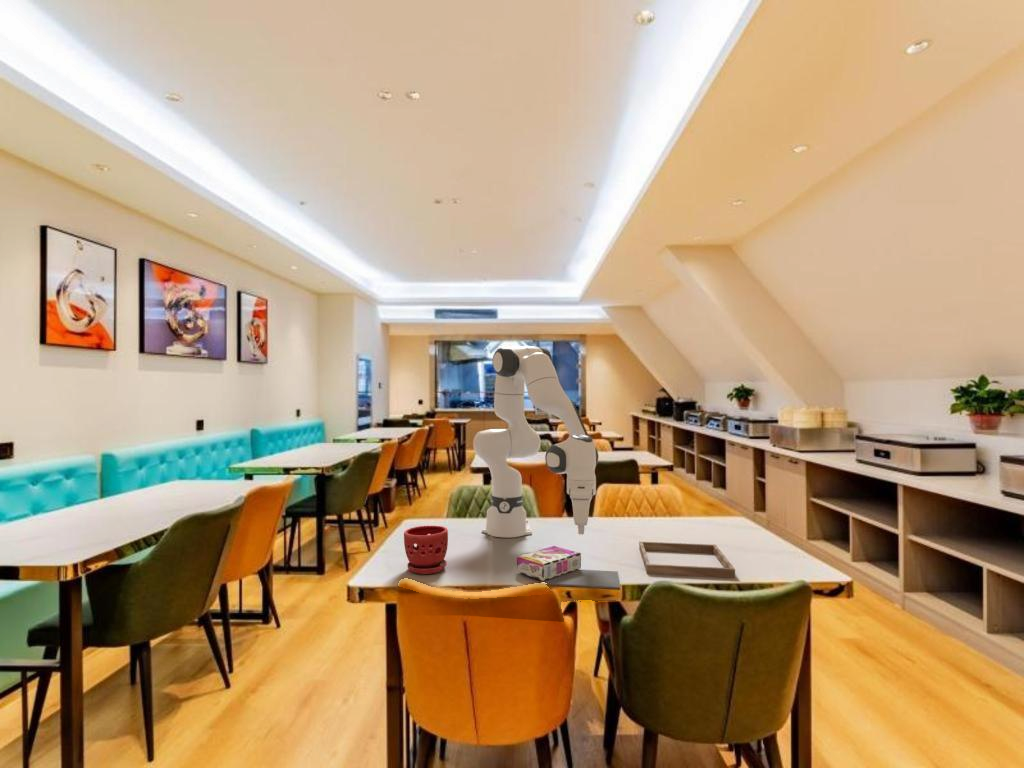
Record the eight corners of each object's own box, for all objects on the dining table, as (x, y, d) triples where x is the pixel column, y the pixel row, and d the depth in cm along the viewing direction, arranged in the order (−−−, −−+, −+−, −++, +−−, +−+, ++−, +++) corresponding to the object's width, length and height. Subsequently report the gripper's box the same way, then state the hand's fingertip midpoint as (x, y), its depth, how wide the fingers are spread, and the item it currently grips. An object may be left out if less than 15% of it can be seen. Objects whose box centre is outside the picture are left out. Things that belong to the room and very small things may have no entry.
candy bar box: (581, 551, 167) (543, 564, 155) (581, 568, 167) (543, 582, 155) (553, 544, 175) (516, 555, 164) (554, 560, 175) (516, 572, 164)
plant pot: (449, 562, 174) (449, 524, 174) (445, 576, 161) (445, 535, 161) (407, 562, 174) (407, 524, 174) (400, 577, 161) (400, 535, 161)
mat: (543, 569, 168) (543, 567, 168) (617, 573, 165) (617, 571, 165) (539, 584, 155) (539, 582, 155) (620, 589, 152) (620, 587, 152)
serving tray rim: (639, 548, 189) (639, 541, 189) (715, 552, 186) (715, 544, 186) (646, 573, 165) (646, 565, 165) (735, 578, 161) (735, 569, 161)
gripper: (572, 481, 181) (571, 524, 181) (569, 493, 161) (569, 541, 161) (591, 482, 180) (591, 525, 180) (591, 494, 160) (591, 542, 160)
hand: (581, 533), depth 170 cm, fingers closed
